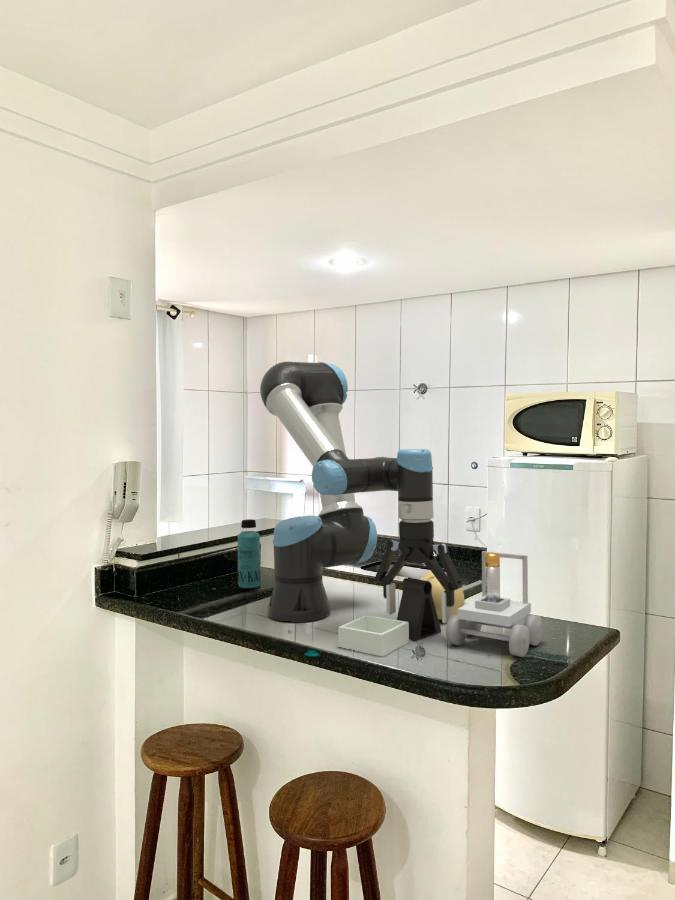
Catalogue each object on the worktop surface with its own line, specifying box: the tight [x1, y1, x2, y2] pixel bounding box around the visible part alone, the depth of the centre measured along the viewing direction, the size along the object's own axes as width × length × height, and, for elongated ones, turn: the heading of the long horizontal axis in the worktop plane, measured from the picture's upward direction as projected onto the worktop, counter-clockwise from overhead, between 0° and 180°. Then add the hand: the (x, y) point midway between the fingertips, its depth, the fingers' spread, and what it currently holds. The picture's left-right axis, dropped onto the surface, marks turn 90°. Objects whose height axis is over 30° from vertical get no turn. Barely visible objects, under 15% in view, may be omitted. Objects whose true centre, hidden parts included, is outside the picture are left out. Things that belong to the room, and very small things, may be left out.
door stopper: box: [396, 576, 442, 642], centre depth 152 cm, size 9×6×12 cm, turn 132°
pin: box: [485, 551, 501, 603], centre depth 142 cm, size 3×3×11 cm
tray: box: [338, 614, 410, 658], centre depth 145 cm, size 11×11×4 cm
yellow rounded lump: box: [419, 571, 465, 621], centre depth 164 cm, size 11×12×11 cm
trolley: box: [445, 551, 544, 658], centre depth 143 cm, size 15×14×18 cm
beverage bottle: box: [236, 518, 262, 589], centre depth 194 cm, size 6×7×20 cm
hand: (418, 617), depth 151 cm, fingers open, 13 cm apart
